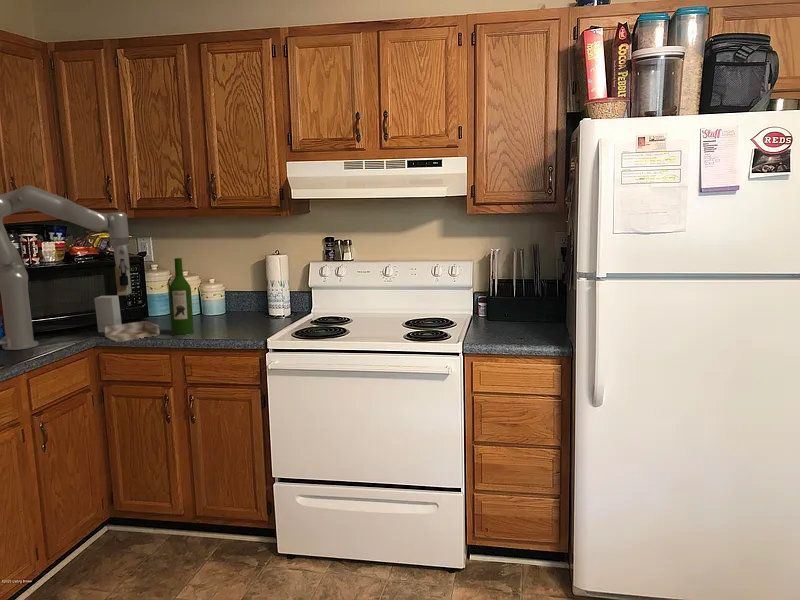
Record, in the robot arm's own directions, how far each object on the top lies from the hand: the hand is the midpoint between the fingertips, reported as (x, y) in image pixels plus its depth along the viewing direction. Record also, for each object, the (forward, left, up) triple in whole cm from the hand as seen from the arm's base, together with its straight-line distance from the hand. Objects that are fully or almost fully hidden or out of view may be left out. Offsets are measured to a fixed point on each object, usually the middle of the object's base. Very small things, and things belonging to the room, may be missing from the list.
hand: (123, 284), depth 286 cm
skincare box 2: (0, 0, -4) cm, 5 cm away
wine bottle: (+19, -12, -23) cm, 32 cm away
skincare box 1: (-2, +17, -23) cm, 29 cm away
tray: (+1, -2, -22) cm, 23 cm away
